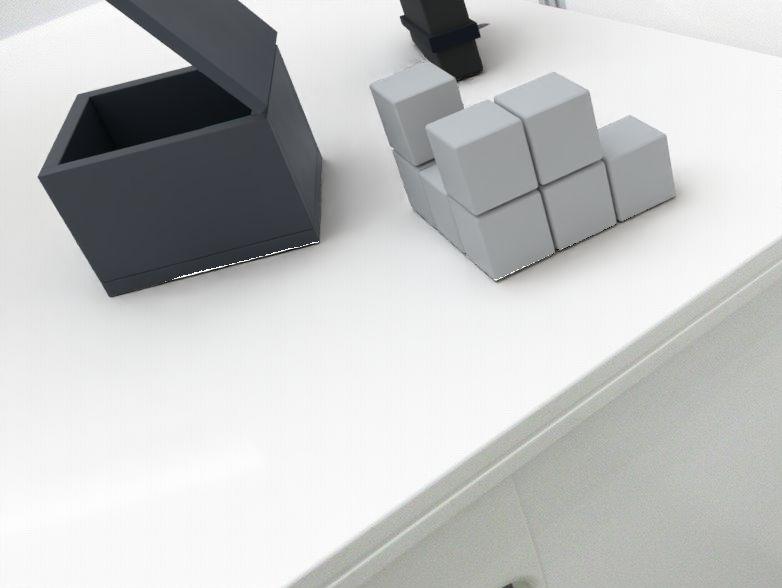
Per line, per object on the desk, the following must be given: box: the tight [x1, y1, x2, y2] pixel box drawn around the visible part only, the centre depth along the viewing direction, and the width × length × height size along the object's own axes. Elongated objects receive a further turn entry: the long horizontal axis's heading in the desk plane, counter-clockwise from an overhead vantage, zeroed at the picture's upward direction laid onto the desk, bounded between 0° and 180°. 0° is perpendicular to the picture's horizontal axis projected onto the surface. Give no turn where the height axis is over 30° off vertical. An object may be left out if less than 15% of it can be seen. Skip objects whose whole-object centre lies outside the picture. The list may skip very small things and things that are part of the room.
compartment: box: [37, 44, 323, 298], centre depth 67 cm, size 13×12×8 cm
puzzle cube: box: [369, 60, 677, 280], centre depth 62 cm, size 12×12×8 cm
